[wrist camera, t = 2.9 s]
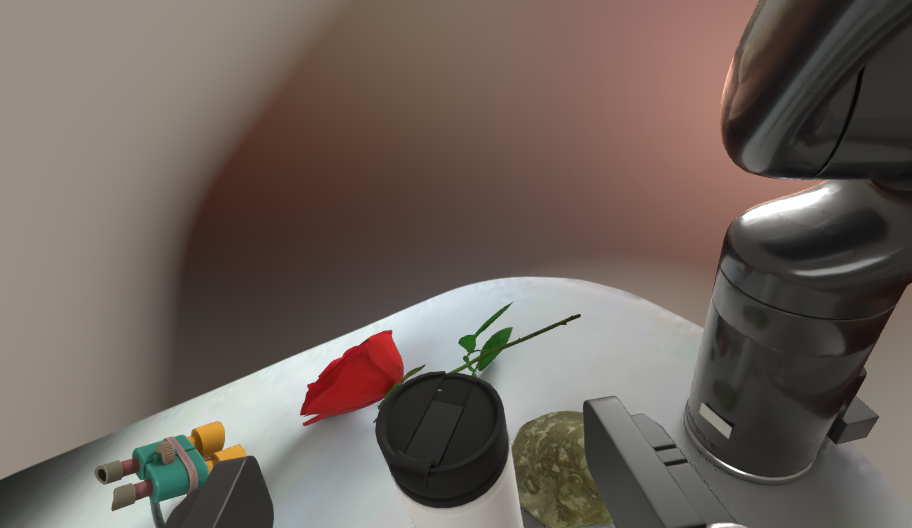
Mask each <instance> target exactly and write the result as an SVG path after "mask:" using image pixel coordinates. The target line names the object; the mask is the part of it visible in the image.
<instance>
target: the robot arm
mask: <svg viewBox="0 0 912 528" xmlns="http://www.w3.org/2000/svg"><path fill="white" fill-rule="evenodd" d="M720 130H721V136H722V141H723V144H724V146H725V149H726V151H727V153H728V155H729V156H730V158H731V159H732V161H733V162H734V163H735V164H736V165H737V166H739V167H740V168H741V169H743V170H745V171H746V172H749V173H752V174H755V175H759V176H763V177H768V178H773V179H783V180H784V179H785V180H796V179H801V180H805V179H806V180H826V181H824V182H822V183H820V184H818V185H815V186H813V187H811V188H808V189H806V190H803V191H800V192H797V193H794V194H791V195H787V196H784V197H780V198H777V199H773V200H770V201H766V202H763V203H760V204H758V205H755V206H753V207H751V208H749V209H747V210H745V211H744V212H742V213H741V214H739V215H738V216H737V217H736V218H735V219H734V220H733V221H732V223H731V224H730V226H729V227H728V229H727V232H726V235H725V238H724V242H723V246H722V251H721V256H720V259H719V264H718V268H717V274H716V278H715V282H714V287H713V292H712V297H711V301H710V306H709V310H708V314H707V319H706V324H705V328H704V333H703V337H702V342H701V346H700V351H699V355H698V360H697V364H696V369H695V373H694V378H693V382H692V387H691V392H690V396H689V398H688V401H687V404H686V408H685V413H684V423H685V427H686V431H687V433H688V435H689V437H690V439H691V441H692V443H693V444H694V445H695V447H696V448H697V449H698V450H699V452H700V453H701V454H702V455H703V456H704V457H705V458H707V459H708V460H709V461H710V462H711V463H713V464H714V465H715V466H717V467H718V468H720V469H721V470H723V471H725V472H727V473H729V474H731V475H733V476H735V477H738V478H740V479H743V480H746V481H749V482H753V483H758V484H766V485H779V484H786V483H790V482H793V481H796V480H798V479H800V478H801V477H803V476H804V475H805V474H806V473H807V472H808V471H809V470H810V468H811V466H812V465H813V463H814V461H815V459H816V456H817V453H819V452H823V451H825V450H826V448H827V446H828V444H829V442H830V441H831V440H832V441H833V442H834V443H835V444H836V445H837V444H841V443H845V442H849V441H853V440H857V439H861V438H865V437H867V435H868V434H869V432H870V431H871V429H872V427H873V426H874V424H875V423H876V421H877V419H878V418H879V416H878V415H877V414H876V413H875V412H874V411H873V410H871V409H870V408H869V407H868V406H867V405H866V404H865V403H864V402H862V401H861V400H860V399H859V398H858V397H857V396H856V394H857V392H858V390H859V388H860V386H861V384H862V382H863V381H864V379H865V377H866V370H865V368H864V367H863V366H864V365H865V363H866V361H867V359H868V357H869V355H870V353H871V352H872V350H873V348H874V346H875V344H876V342H877V340H878V338H879V337H880V334H881V332H882V330H883V329H884V327H885V325H886V323H887V321H888V319H889V317H890V315H891V314H892V312H893V310H894V308H895V306H896V304H897V303H898V301H899V299H900V298H901V296H902V294H903V292H904V290H905V288H906V287H907V285H909V284H910V283H912V0H760V1H759V3H758V5H757V6H756V8H755V11H754V12H753V14H752V16H751V18H750V20H749V23H748V24H747V26H746V29H745V30H744V32H743V35H742V37H741V39H740V42H739V44H738V47H737V49H736V52H735V54H734V57H733V59H732V62H731V65H730V68H729V71H728V74H727V78H726V82H725V86H724V91H723V96H722V100H721V108H720ZM583 418H584V449H585V457H586V461H587V465H588V469H589V472H590V474H591V477H592V479H593V481H594V483H595V485H596V487H597V489H598V491H599V493H600V495H601V497H602V499H603V501H604V503H605V506H606V508H607V510H608V512H609V514H610V516H611V518H612V520H613V522H614V524H615V526H616V528H747V527H745V526H741V525H739V524H738V523H737V522H736V521H735V519H734V518H733V517H732V516H731V514H730V513H729V512H728V511H727V509H726V508H725V507H724V505H723V504H722V503H721V502H720V500H719V499H718V498H717V496H716V495H715V494H714V493H713V491H712V490H711V489H710V487H709V486H708V485H707V484H706V482H705V481H704V480H703V479H702V477H701V476H700V475H699V473H698V472H697V471H696V470H695V468H694V467H693V466H692V464H691V463H688V461H687V458H686V457H685V455H684V454H683V453H682V452H681V450H680V449H679V448H677V447H676V444H675V443H674V441H673V440H672V439H671V437H670V436H669V435H668V434H667V432H666V431H665V430H664V429H663V427H662V426H660V425H659V424H657V423H656V422H654V421H653V420H651V419H650V418H648V417H647V416H645V415H644V414H637V415H631V416H630V414H629V413H628V411H627V410H626V409H625V407H624V406H623V404H622V403H621V402H620V400H619V399H618V398H617V397H616V396H609V397H604V398H598V399H592V400H586V401H584V404H583ZM273 520H274V511H273V504H272V501H271V498H270V495H269V492H268V490H267V487H266V484H265V481H264V478H263V476H262V473H261V470H260V467H259V464H258V462H257V460H256V458H255V457H254V456H246V457H240V458H234V459H228V460H222V461H219V462H217V463H216V464H215V465H214V467H213V469H212V471H211V472H210V474H209V476H208V478H207V480H206V482H205V483H204V485H203V487H202V488H197V489H193V490H192V491H191V492H190V493H189V495H188V496H187V497H186V498H185V499H184V500H183V501H182V502H181V503H180V504H179V505H178V506H177V507H176V508H175V509H174V510H173V511H172V513H171V515H170V517H169V518H168V520H167V522H166V523H165V525H164V527H163V528H273Z"/></svg>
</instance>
